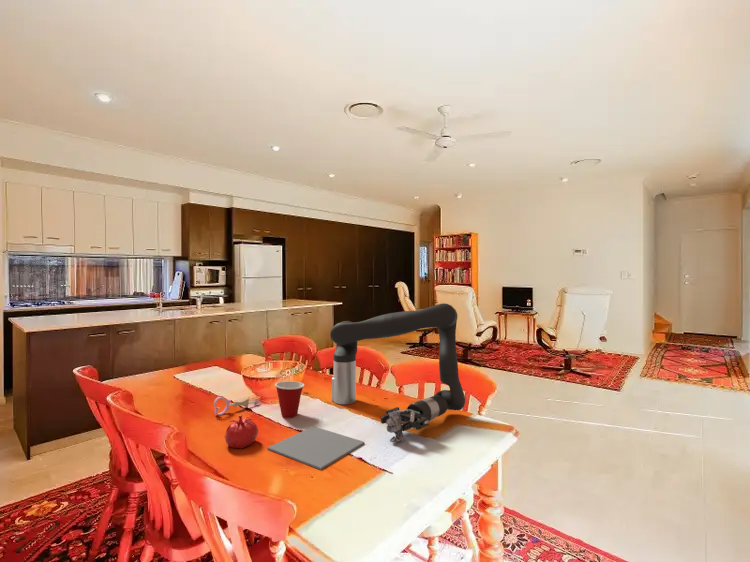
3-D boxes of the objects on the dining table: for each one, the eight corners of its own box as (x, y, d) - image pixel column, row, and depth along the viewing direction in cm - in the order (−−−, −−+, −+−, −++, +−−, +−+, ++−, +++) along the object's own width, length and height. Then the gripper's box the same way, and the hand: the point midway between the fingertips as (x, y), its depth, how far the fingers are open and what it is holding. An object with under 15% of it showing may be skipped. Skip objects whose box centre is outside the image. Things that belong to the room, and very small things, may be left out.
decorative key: (261, 411, 162) (213, 416, 148) (259, 410, 163) (211, 415, 149) (263, 394, 163) (215, 397, 149) (261, 393, 164) (214, 397, 150)
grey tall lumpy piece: (398, 446, 123) (398, 414, 123) (383, 442, 126) (383, 411, 126) (406, 440, 128) (406, 409, 127) (391, 436, 130) (391, 406, 130)
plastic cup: (309, 416, 148) (308, 384, 148) (280, 422, 143) (280, 389, 142) (298, 408, 158) (298, 378, 157) (271, 413, 152) (271, 382, 152)
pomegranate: (264, 441, 128) (264, 412, 128) (242, 453, 119) (242, 422, 119) (240, 435, 132) (240, 407, 132) (217, 447, 123) (217, 417, 123)
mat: (267, 449, 121) (267, 447, 121) (313, 427, 138) (313, 426, 138) (320, 469, 109) (320, 467, 109) (364, 443, 125) (364, 441, 125)
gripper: (407, 395, 142) (375, 406, 130) (440, 405, 132) (408, 418, 120) (407, 416, 142) (375, 429, 130) (440, 427, 132) (408, 442, 120)
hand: (391, 424), depth 125 cm, fingers open, 8 cm apart
